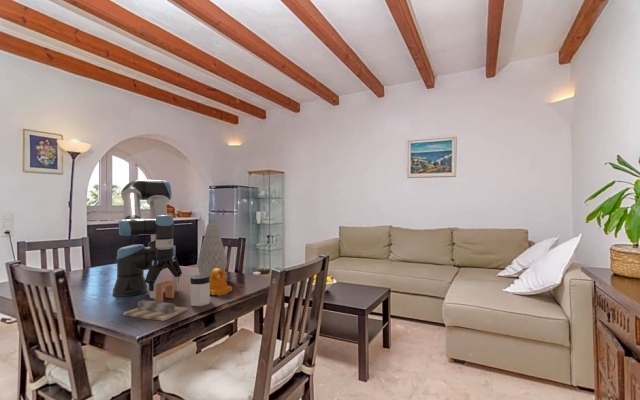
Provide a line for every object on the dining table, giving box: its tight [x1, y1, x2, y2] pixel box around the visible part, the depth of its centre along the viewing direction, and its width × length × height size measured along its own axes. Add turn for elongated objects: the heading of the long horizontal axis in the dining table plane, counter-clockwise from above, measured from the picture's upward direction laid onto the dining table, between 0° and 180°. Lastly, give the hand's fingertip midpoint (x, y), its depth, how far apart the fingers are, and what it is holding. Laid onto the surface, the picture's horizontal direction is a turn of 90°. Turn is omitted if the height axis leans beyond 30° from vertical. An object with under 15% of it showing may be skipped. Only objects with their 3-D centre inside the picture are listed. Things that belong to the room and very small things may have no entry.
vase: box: [196, 223, 228, 276], centre depth 188 cm, size 17×17×33 cm
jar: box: [189, 274, 211, 307], centre depth 148 cm, size 9×8×12 cm
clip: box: [153, 280, 175, 302], centre depth 154 cm, size 4×8×8 cm, turn 162°
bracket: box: [210, 268, 233, 296], centre depth 164 cm, size 11×7×12 cm, turn 136°
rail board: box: [123, 299, 188, 322], centre depth 135 cm, size 20×13×4 cm, turn 72°
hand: (164, 294), depth 154 cm, fingers open, 13 cm apart
